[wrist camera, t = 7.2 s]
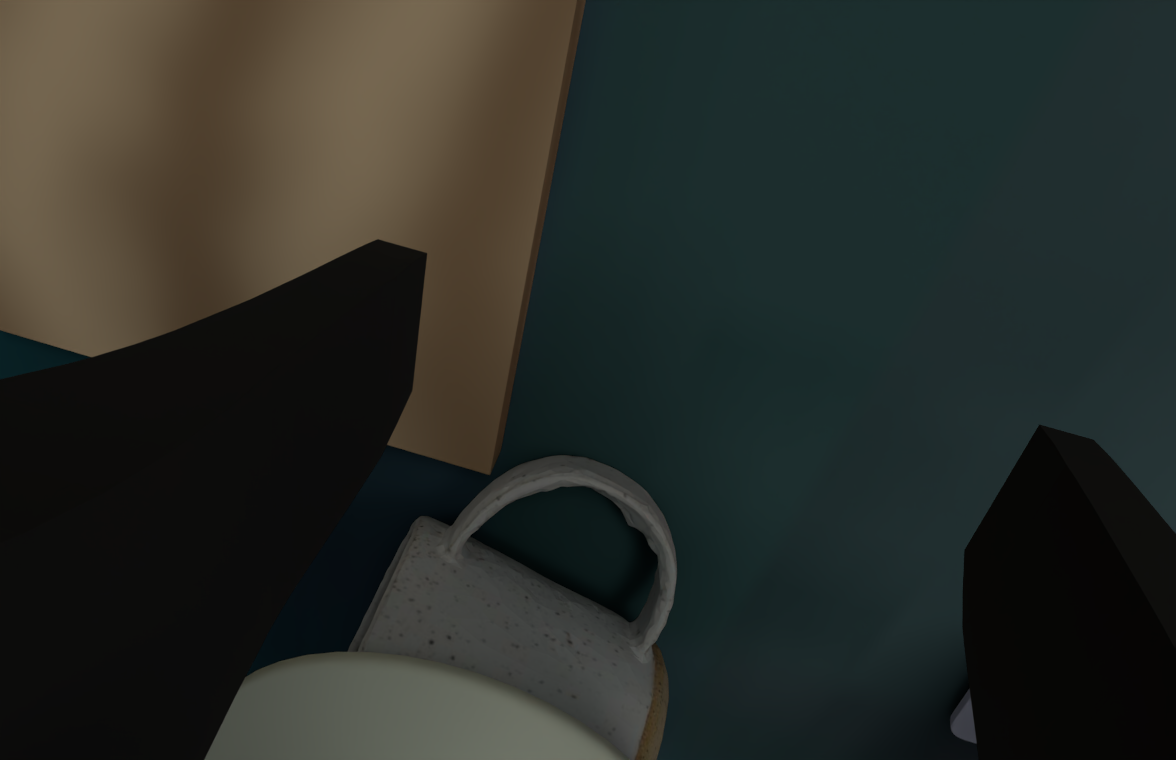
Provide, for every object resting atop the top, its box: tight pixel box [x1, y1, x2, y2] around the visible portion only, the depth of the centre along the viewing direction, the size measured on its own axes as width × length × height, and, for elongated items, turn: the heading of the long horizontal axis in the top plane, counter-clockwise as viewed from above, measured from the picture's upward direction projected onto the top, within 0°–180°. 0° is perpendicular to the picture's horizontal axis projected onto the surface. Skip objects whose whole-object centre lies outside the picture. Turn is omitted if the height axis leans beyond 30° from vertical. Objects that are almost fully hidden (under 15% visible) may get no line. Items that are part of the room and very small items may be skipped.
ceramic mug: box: [348, 455, 677, 760], centre depth 26 cm, size 11×8×8 cm
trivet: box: [0, 0, 586, 475], centre depth 23 cm, size 14×14×1 cm
